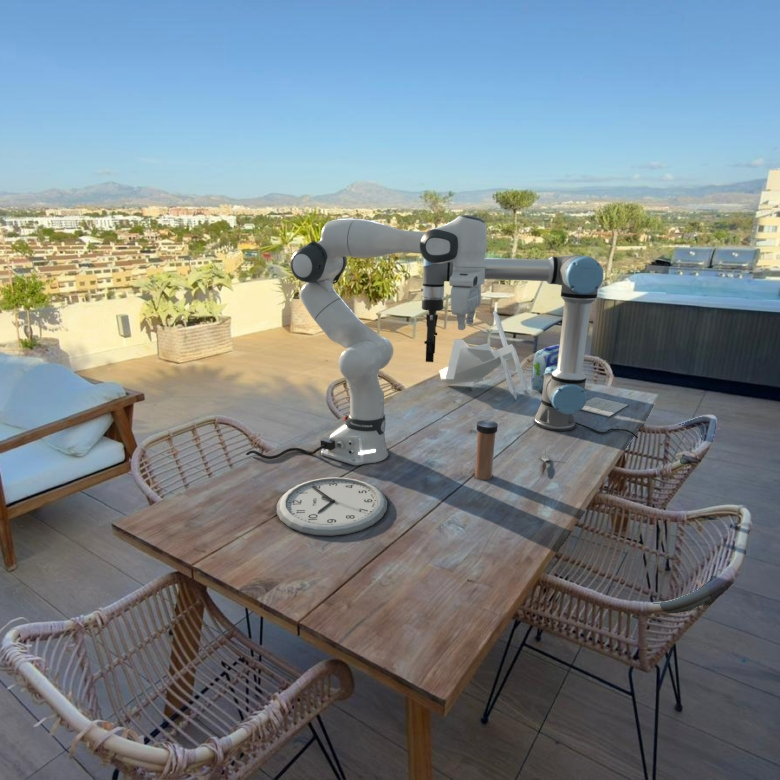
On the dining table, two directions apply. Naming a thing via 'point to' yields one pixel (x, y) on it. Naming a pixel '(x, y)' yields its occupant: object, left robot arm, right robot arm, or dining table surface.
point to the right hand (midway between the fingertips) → (430, 357)
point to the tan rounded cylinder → (484, 456)
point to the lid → (487, 426)
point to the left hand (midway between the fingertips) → (465, 326)
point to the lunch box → (543, 365)
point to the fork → (545, 460)
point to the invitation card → (603, 406)
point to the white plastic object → (482, 362)
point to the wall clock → (331, 506)
